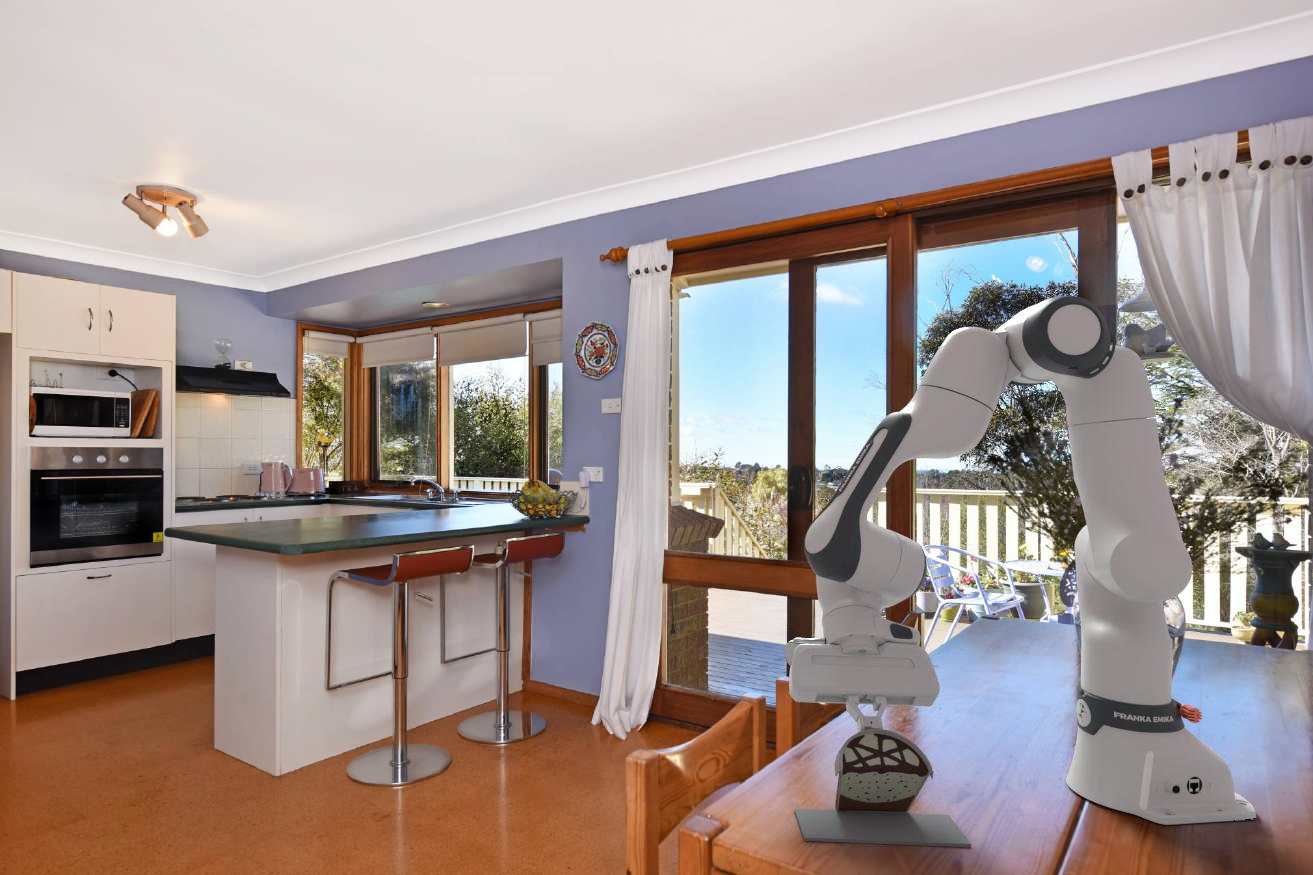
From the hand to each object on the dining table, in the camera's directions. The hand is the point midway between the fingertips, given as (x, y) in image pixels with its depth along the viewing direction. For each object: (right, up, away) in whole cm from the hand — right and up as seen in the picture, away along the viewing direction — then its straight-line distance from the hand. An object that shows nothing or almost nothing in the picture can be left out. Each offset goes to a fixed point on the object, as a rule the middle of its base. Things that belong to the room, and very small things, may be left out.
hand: (871, 732), depth 101 cm
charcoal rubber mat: (0, -10, -5) cm, 11 cm away
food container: (0, -9, +2) cm, 9 cm away
